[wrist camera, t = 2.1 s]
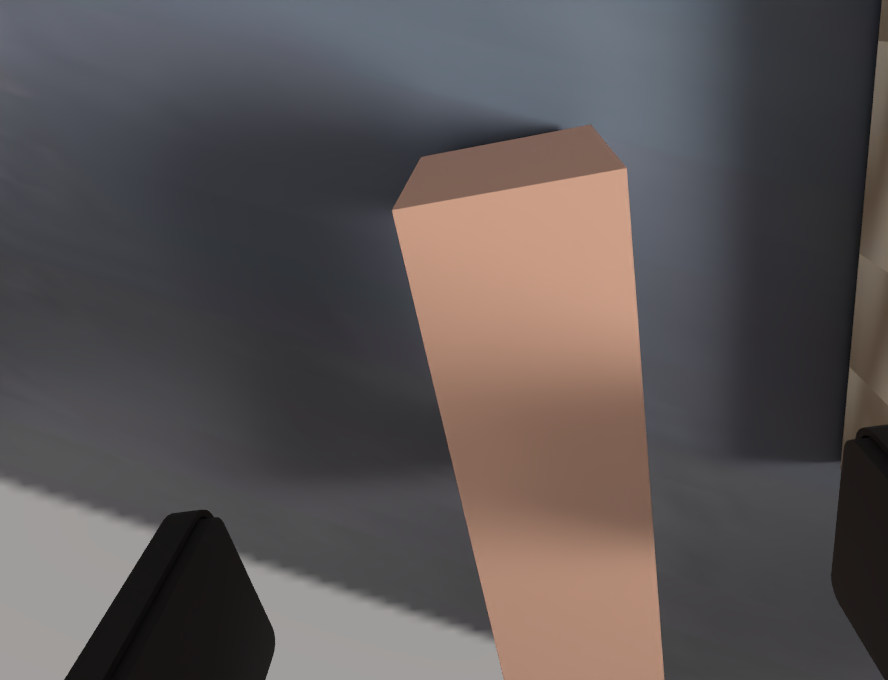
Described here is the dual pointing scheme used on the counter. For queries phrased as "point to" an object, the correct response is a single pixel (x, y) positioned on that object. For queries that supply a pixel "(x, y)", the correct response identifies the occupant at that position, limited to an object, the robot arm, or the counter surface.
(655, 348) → the counter surface
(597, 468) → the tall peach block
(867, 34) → the counter surface
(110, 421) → the counter surface
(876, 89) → the beige flat slotted block
